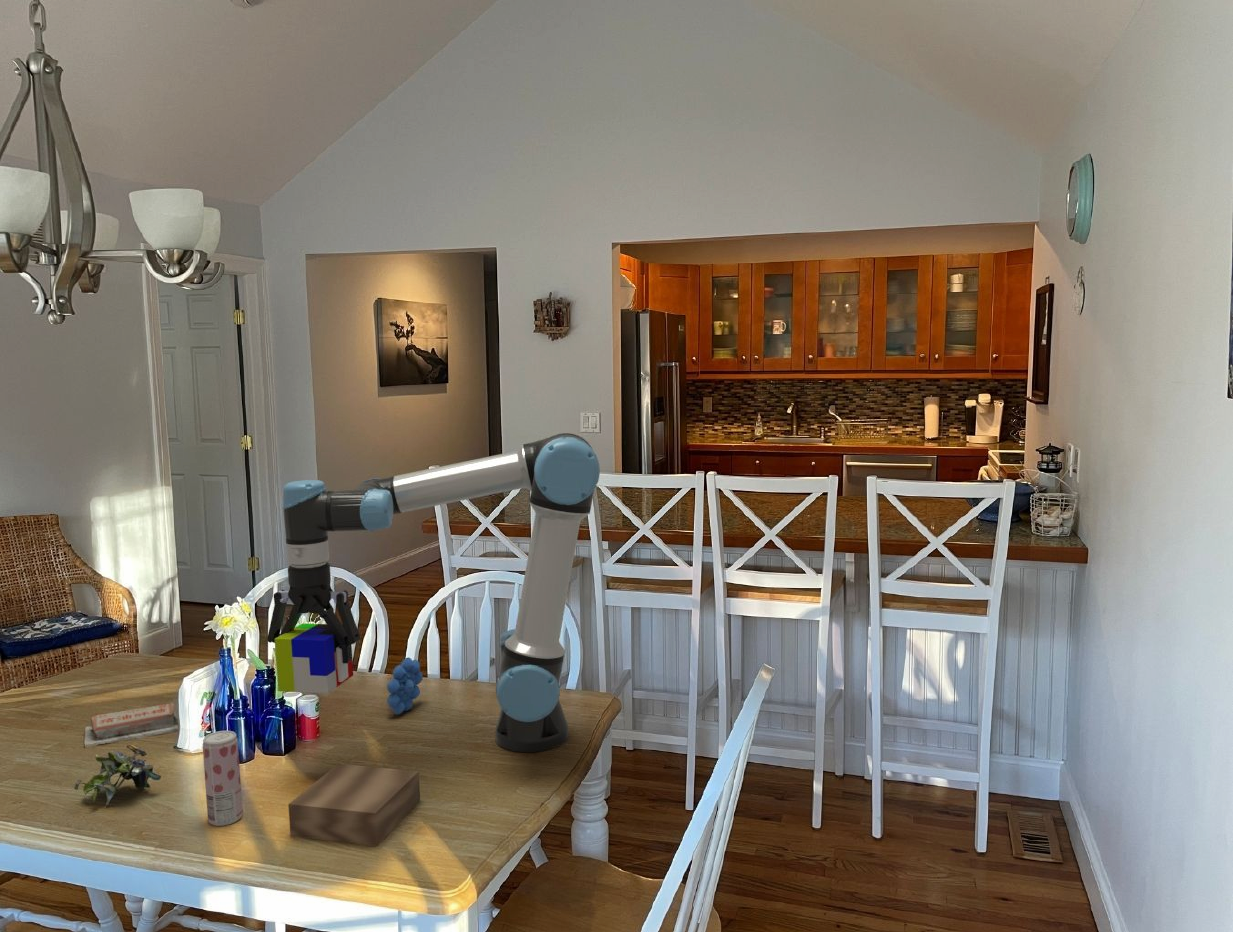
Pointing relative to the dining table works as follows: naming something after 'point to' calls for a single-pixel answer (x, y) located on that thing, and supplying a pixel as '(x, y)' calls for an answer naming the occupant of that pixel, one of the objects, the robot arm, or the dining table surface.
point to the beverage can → (222, 778)
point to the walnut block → (354, 804)
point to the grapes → (404, 685)
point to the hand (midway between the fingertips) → (316, 678)
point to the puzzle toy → (308, 660)
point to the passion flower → (120, 765)
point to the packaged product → (131, 724)
